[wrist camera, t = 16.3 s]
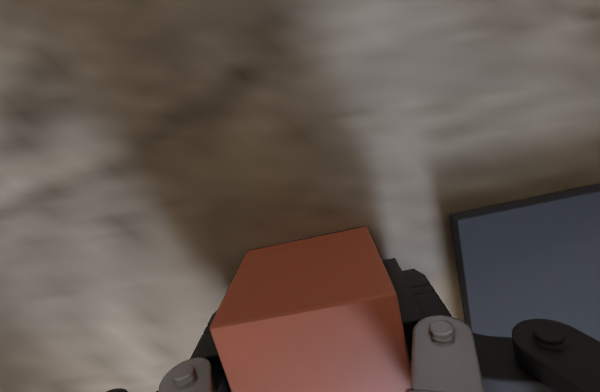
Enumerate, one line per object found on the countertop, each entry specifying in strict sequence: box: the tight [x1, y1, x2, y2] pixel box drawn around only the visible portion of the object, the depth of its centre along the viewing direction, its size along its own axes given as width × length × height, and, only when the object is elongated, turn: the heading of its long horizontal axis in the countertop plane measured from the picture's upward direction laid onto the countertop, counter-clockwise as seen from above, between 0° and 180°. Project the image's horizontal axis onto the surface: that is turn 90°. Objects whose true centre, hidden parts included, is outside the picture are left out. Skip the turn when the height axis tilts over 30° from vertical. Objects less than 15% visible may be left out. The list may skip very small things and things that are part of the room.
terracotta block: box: [210, 227, 411, 392], centre depth 10 cm, size 4×4×4 cm
